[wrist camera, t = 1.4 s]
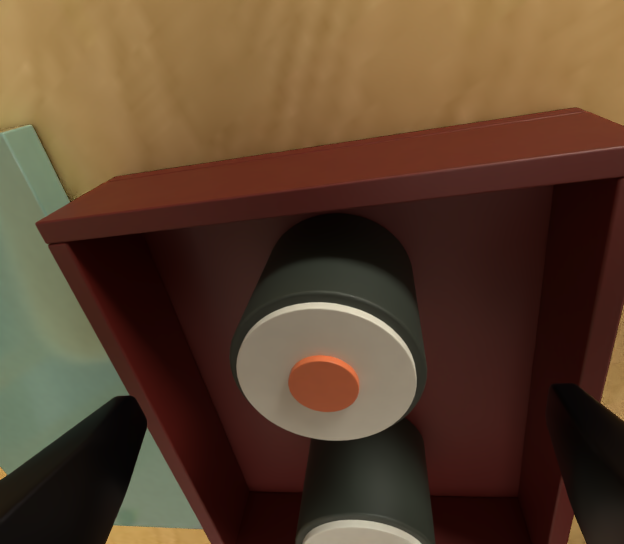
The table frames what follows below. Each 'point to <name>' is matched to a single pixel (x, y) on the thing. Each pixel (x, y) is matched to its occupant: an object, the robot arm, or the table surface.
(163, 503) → the plate
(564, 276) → the sushi box
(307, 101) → the table surface
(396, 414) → the cylinder
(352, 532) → the cylinder
